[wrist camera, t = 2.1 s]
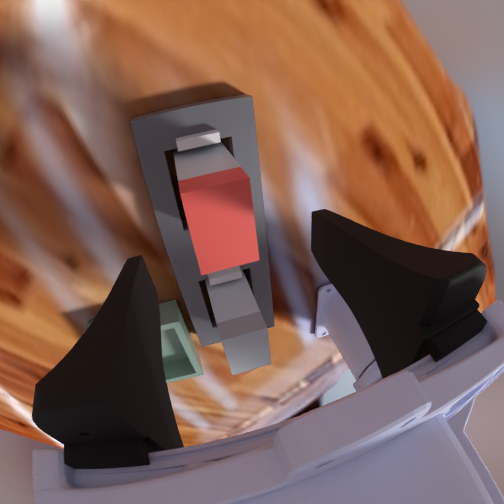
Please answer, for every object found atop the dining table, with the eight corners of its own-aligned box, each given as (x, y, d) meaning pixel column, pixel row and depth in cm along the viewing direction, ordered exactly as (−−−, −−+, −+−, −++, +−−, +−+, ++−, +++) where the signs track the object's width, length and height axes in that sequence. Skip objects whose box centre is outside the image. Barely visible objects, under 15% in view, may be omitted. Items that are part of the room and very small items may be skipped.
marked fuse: (219, 140, 18) (249, 177, 13) (229, 201, 21) (259, 260, 15) (173, 150, 18) (180, 194, 12) (187, 211, 20) (201, 275, 15)
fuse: (239, 262, 24) (267, 327, 19) (246, 301, 27) (271, 363, 21) (202, 272, 24) (221, 340, 18) (213, 310, 26) (232, 375, 21)
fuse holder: (245, 93, 17) (256, 97, 15) (269, 315, 29) (277, 332, 27) (132, 117, 15) (128, 124, 14) (199, 334, 28) (203, 353, 26)
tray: (176, 299, 24) (179, 321, 22) (199, 354, 29) (203, 374, 27) (88, 320, 23) (85, 342, 21) (125, 371, 28) (126, 390, 26)
